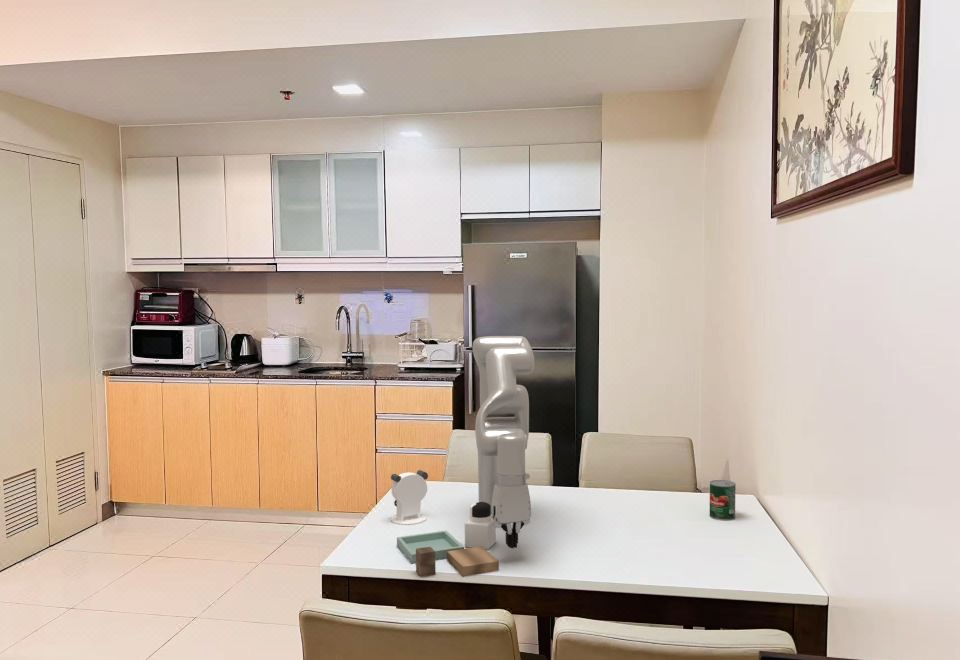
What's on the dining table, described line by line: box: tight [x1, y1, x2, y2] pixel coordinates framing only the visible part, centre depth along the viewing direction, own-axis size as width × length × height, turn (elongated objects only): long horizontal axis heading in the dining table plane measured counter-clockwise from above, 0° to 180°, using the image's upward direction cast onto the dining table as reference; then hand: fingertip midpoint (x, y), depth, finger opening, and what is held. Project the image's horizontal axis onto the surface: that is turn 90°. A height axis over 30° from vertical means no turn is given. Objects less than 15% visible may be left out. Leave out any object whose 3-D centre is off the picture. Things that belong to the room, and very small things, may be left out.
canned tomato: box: [708, 479, 736, 521], centre depth 230 cm, size 8×8×11 cm
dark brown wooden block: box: [415, 547, 437, 578], centre depth 186 cm, size 4×4×6 cm
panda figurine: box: [390, 469, 429, 526], centre depth 230 cm, size 12×11×15 cm
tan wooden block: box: [446, 546, 500, 578], centre depth 191 cm, size 10×12×3 cm
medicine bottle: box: [464, 501, 497, 551], centre depth 206 cm, size 7×7×12 cm
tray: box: [396, 530, 465, 565], centre depth 202 cm, size 15×15×2 cm
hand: (512, 546), depth 194 cm, fingers closed
